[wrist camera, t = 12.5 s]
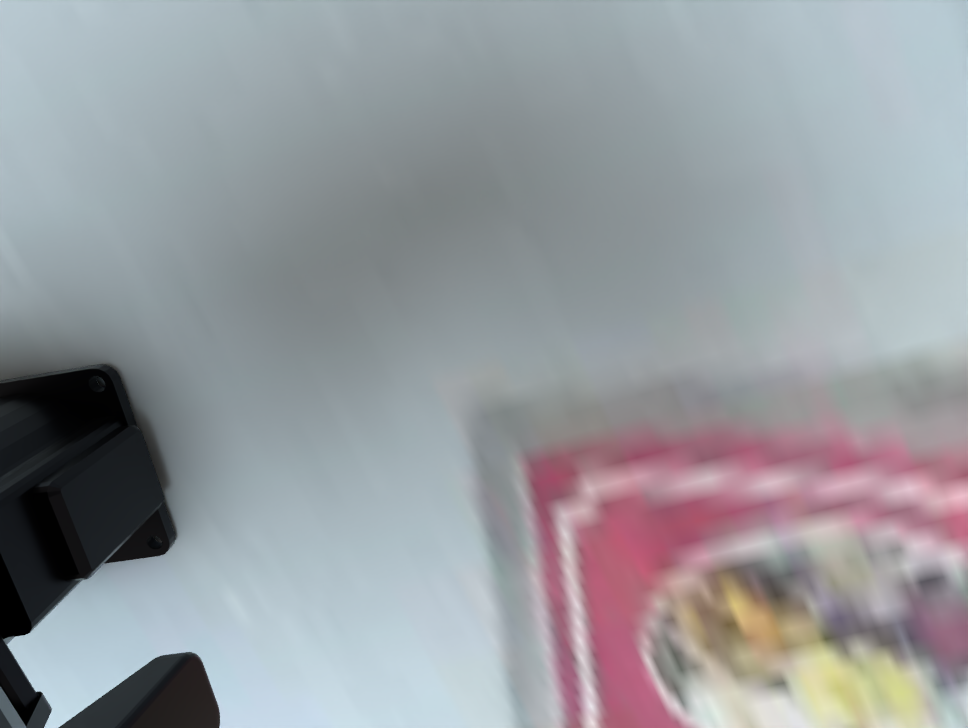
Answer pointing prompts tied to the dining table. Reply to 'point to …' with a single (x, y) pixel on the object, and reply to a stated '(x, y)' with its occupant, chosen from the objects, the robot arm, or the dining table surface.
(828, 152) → the dining table surface
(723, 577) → the dining table surface
